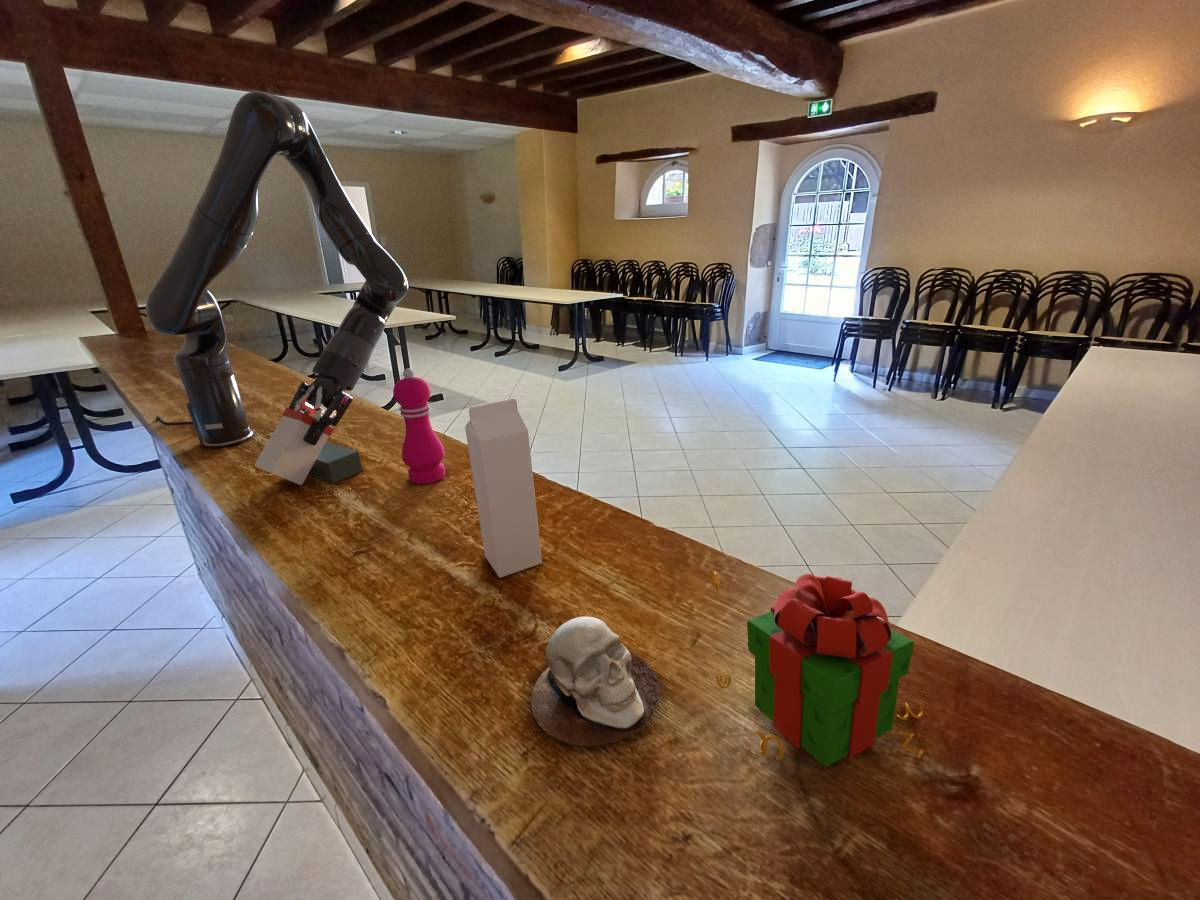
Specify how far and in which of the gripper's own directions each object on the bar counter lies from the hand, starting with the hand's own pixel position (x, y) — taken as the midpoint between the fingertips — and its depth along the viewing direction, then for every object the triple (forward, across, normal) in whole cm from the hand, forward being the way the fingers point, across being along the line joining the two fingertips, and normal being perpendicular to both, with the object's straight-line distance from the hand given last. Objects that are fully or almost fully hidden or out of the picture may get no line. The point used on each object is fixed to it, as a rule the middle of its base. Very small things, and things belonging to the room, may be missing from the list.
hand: (298, 439), depth 98 cm
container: (+6, 0, +4) cm, 7 cm away
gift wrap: (+10, +90, +1) cm, 91 cm away
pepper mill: (-3, +19, +14) cm, 24 cm away
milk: (+6, +51, +5) cm, 52 cm away
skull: (+15, +74, -4) cm, 75 cm away
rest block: (+3, 0, +8) cm, 9 cm away
